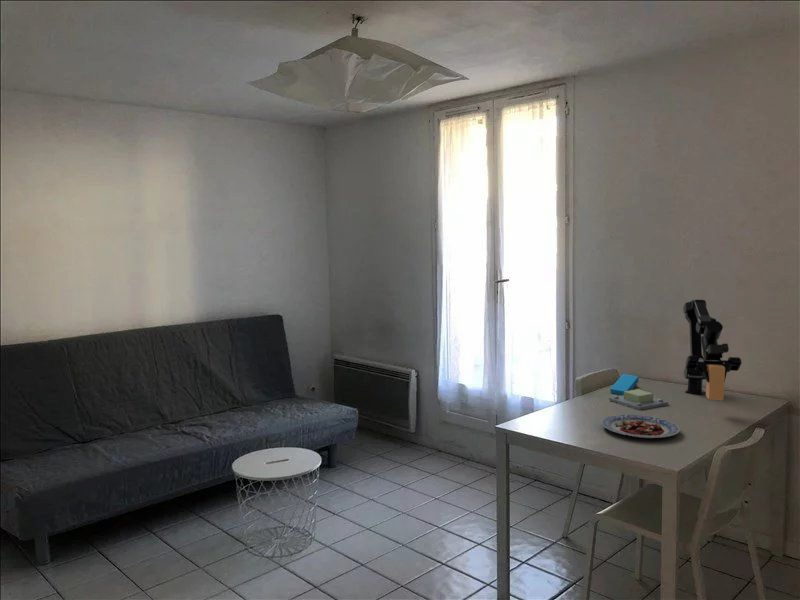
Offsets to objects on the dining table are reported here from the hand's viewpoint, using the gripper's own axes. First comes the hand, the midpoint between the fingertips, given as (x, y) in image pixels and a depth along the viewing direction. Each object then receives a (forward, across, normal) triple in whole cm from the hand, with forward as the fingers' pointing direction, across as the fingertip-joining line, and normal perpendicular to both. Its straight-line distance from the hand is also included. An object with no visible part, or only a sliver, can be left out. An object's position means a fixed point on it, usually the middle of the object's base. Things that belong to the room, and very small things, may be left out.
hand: (716, 382), depth 242 cm
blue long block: (-14, -28, +33) cm, 46 cm away
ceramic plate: (+26, -30, -8) cm, 41 cm away
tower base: (0, -26, +19) cm, 32 cm away
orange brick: (+4, 0, +6) cm, 7 cm away
